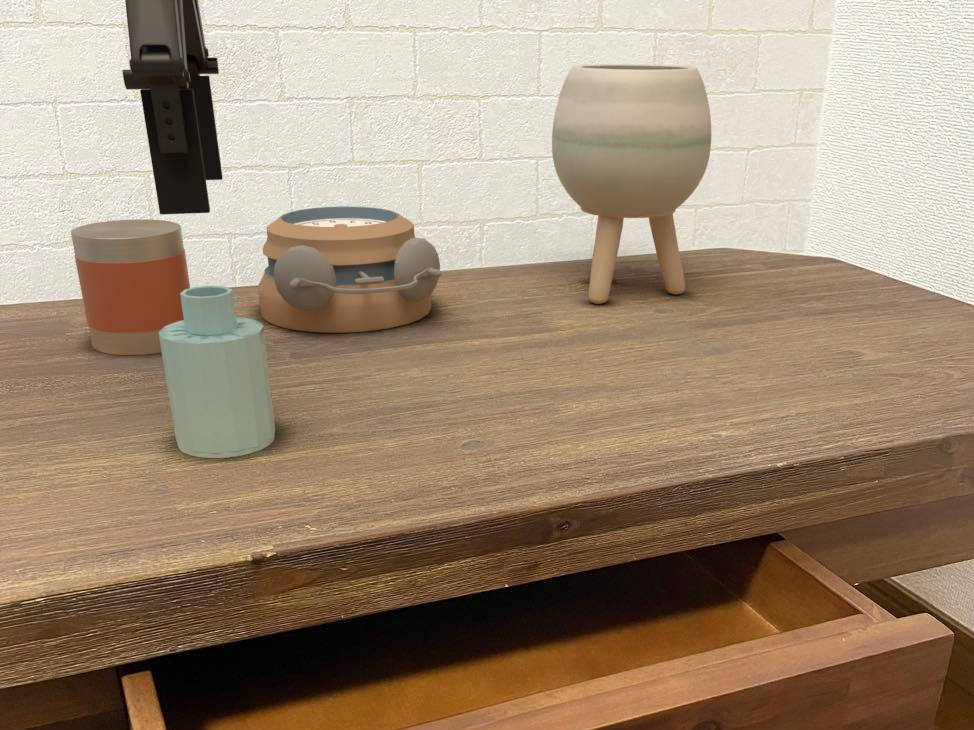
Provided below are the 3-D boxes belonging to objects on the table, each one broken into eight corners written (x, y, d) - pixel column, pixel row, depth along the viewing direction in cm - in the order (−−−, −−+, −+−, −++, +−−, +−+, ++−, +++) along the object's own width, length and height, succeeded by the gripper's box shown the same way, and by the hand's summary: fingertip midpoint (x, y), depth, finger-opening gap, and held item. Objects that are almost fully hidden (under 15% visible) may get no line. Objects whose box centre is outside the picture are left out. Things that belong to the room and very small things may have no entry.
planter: (572, 315, 104) (577, 71, 94) (535, 279, 118) (536, 63, 108) (722, 307, 108) (743, 70, 97) (669, 273, 121) (682, 63, 111)
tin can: (76, 355, 91) (53, 238, 86) (110, 327, 99) (91, 219, 94) (182, 355, 91) (164, 238, 86) (208, 327, 99) (193, 219, 95)
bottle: (165, 459, 70) (140, 304, 65) (191, 423, 76) (170, 279, 71) (264, 458, 70) (246, 304, 66) (282, 423, 76) (267, 279, 72)
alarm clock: (401, 198, 111) (471, 237, 92) (405, 284, 115) (473, 339, 96) (237, 207, 105) (277, 251, 86) (248, 297, 109) (288, 359, 90)
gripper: (188, -267, 46) (249, 227, 55) (220, -177, 68) (259, 167, 77) (5, -276, 44) (100, 233, 54) (97, -181, 66) (154, 170, 76)
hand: (194, 195), depth 66 cm, fingers open, 13 cm apart
